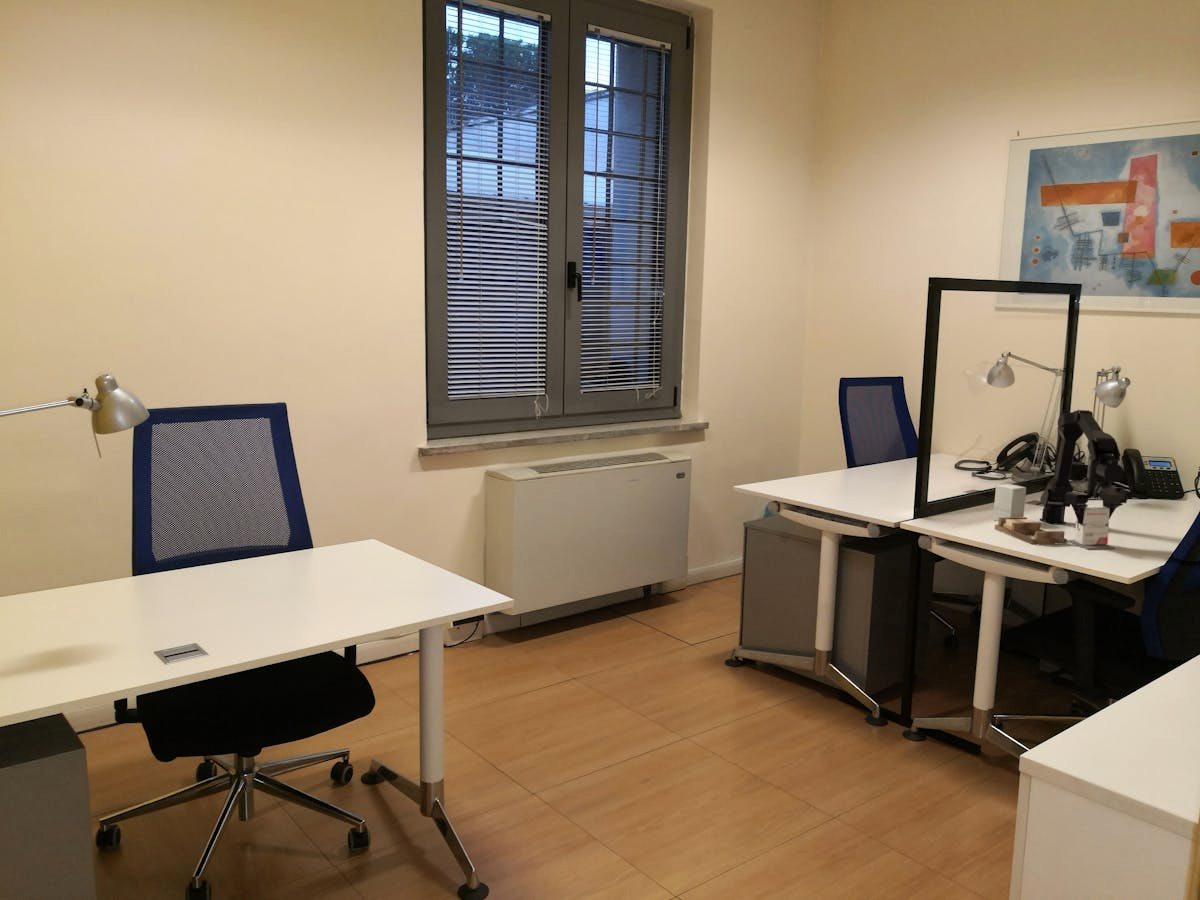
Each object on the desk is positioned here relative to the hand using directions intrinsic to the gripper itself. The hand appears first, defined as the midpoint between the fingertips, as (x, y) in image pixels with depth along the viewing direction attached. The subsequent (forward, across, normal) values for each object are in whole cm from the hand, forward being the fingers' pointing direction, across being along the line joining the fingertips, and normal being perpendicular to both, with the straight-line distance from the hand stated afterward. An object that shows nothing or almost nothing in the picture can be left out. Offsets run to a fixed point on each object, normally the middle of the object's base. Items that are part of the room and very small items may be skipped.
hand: (1092, 523), depth 313 cm
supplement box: (+7, -7, +33) cm, 35 cm away
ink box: (+7, 0, 0) cm, 7 cm away
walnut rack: (+7, -13, +13) cm, 19 cm away
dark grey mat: (+7, 0, 0) cm, 7 cm away
